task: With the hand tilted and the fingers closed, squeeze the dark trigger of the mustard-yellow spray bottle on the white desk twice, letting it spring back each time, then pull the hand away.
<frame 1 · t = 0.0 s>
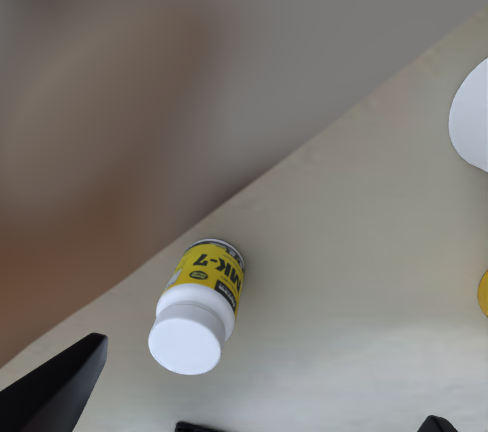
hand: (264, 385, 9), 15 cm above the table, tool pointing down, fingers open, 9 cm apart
supplement bottle: (214, 263, 25), on the table
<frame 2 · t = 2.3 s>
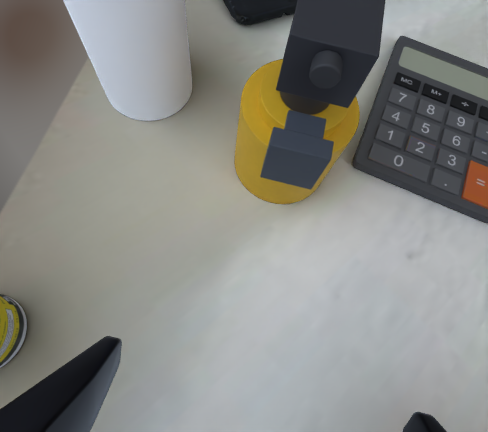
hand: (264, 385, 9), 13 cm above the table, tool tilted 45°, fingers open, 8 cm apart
cylindrical container: (150, 86, 28), on the table
calculator: (437, 124, 29), on the table
trigger: (295, 151, 16), point 9 cm above the table, slide at -0.1 cm
spray bottle: (279, 162, 26), on the table
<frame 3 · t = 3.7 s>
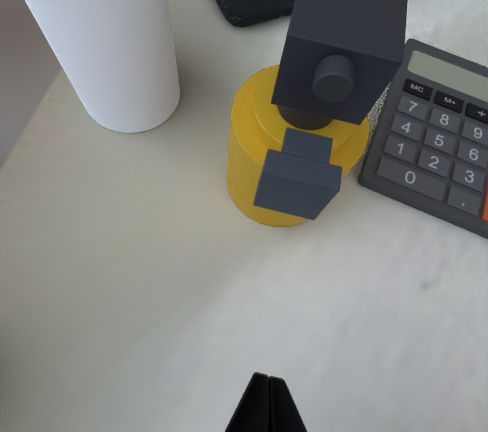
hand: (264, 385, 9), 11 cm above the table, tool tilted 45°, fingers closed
cylindrical container: (133, 94, 25), on the table
calculator: (450, 136, 26), on the table
trigger: (295, 176, 13), point 9 cm above the table, slide at -0.1 cm
spray bottle: (277, 179, 23), on the table
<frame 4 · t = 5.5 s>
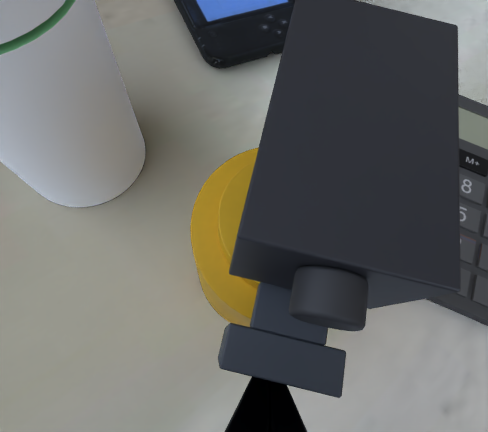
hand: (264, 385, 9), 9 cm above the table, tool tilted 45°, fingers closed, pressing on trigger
cylindrical container: (87, 155, 21), on the table
calculator: (473, 203, 22), on the table
trigger: (276, 335, 9), point 9 cm above the table, slide at 0.5 cm, touching gripper
spray bottle: (261, 265, 19), on the table
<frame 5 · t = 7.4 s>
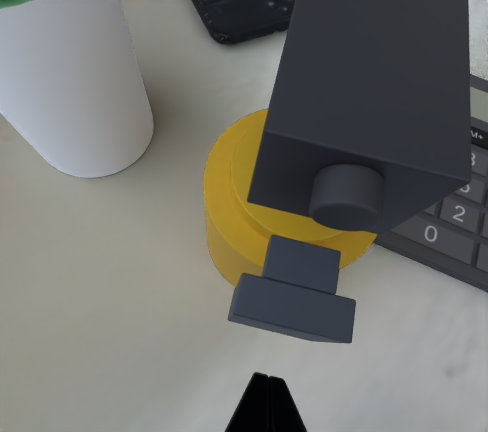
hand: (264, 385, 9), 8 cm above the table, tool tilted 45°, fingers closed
cylindrical container: (97, 128, 21), on the table
calculator: (476, 176, 22), on the table
trigger: (286, 292, 9), point 9 cm above the table, slide at -0.1 cm
spray bottle: (268, 234, 19), on the table
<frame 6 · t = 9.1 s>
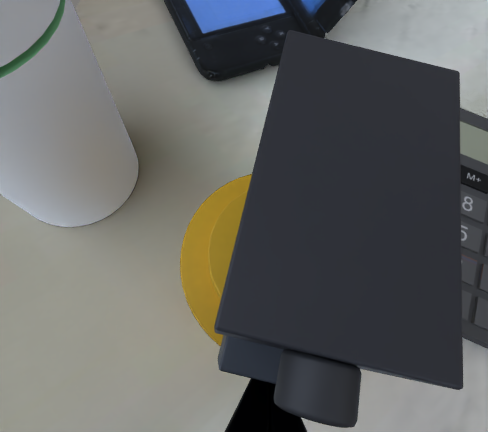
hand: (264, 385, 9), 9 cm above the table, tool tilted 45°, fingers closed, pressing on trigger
cylindrical container: (79, 172, 20), on the table
calculator: (474, 220, 21), on the table
trigger: (276, 336, 9), point 9 cm above the table, slide at 1.8 cm, touching gripper
spray bottle: (257, 287, 18), on the table
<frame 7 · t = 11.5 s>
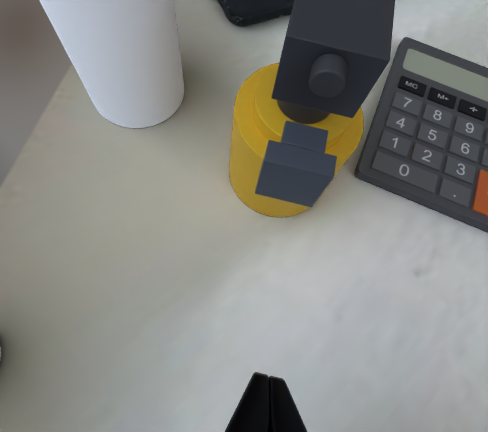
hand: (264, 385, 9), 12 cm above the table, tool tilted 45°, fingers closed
cylindrical container: (139, 91, 26), on the table
calculator: (443, 131, 27), on the table
trigger: (294, 165, 15), point 9 cm above the table, slide at -0.1 cm
spray bottle: (277, 172, 25), on the table
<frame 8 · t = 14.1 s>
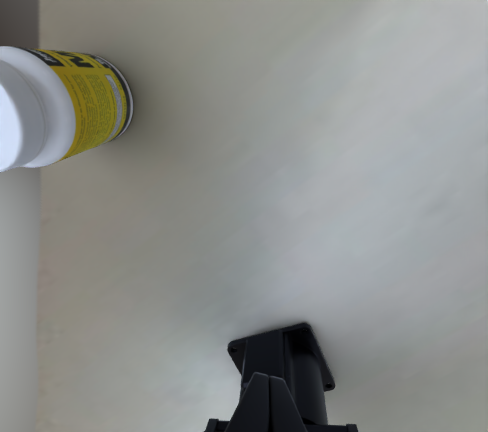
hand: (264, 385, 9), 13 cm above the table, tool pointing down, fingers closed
supplement bottle: (96, 99, 19), on the table
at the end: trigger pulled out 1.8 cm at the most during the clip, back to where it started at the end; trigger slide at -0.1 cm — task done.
